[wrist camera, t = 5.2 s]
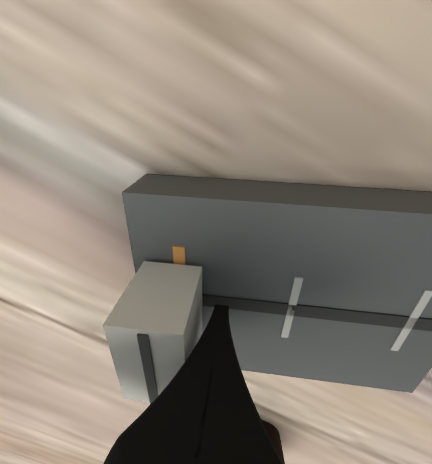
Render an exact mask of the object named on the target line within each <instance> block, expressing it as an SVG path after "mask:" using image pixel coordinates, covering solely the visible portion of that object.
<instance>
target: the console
mask: <svg viewBox="0 0 432 464" xmlns="http://www.w3.org/2000/svg"><path fill="white" fill-rule="evenodd" d="M122 196H123V202H124V208H125V213H126V219H127V225H128V231H129V237H130V243H131V249H132V255H133V261H134V267H135V273H137V271H138V269H139V268H140V266H141V265H142V263H143V262H144V261H148V262H159V263H169V264H180V265H190V266H200V267H202V334H203V332H204V330H205V328H206V326H207V324H208V322H209V320H210V317H211V315H212V312H213V310H214V306H215V304H217V305H226V306H229V323H230V329H231V335H232V339H233V343H234V348H235V351H236V355H237V358H238V362H239V365H240V368H241V370H245V371H252V372H260V373H268V374H275V375H283V376H290V377H298V378H305V379H313V380H320V381H328V382H335V383H343V384H350V385H358V386H365V387H373V388H380V389H388V390H395V391H403V392H410V393H413V391H414V390H415V389H416V387H417V386H418V385H419V383H420V382H421V381H422V379H423V378H424V377H425V375H426V374H427V373H428V372H429V370H430V369H431V368H432V192H425V191H409V190H393V189H377V188H361V187H345V186H330V185H314V184H298V183H282V182H266V181H250V180H234V179H218V178H202V177H186V176H170V175H155V174H146V175H144V176H143V177H142V178H140V179H139V180H138V181H136V182H135V183H134V184H132V185H131V186H130V187H128V188H127V189H126V190H125V191H123V192H122Z"/></svg>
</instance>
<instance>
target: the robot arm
mask: <svg viewBox="0 0 432 464" xmlns="http://www.w3.org/2000/svg"><path fill="white" fill-rule="evenodd" d="M104 464H283V462H282V460H281V458H280V456H279V455H278V453H277V451H276V449H275V447H274V445H273V443H272V441H271V439H270V437H269V435H268V433H267V431H266V429H265V427H264V425H263V423H262V421H261V419H260V416H259V414H258V412H257V409H256V407H255V405H254V403H253V400H252V398H251V396H250V393H249V390H248V388H247V385H246V383H245V380H244V377H243V374H242V371H241V368H240V365H239V362H238V358H237V355H236V351H235V348H234V343H233V339H232V335H231V329H230V323H229V306H226V305H217V304H215V306H214V310H213V312H212V315H211V317H210V320H209V322H208V324H207V326H206V328H205V330H204V332H203V334H202V335H201V337H200V339H199V341H198V342H197V344H196V346H195V347H194V349H193V350H192V352H191V354H190V355H189V357H188V358H187V360H186V361H185V363H184V364H183V365H182V367H181V368H180V370H179V371H178V372H177V374H176V375H175V376H174V377H173V379H172V380H171V381H170V382H169V384H168V385H167V386H166V387H165V389H164V390H163V391H162V392H161V393H160V395H159V396H158V397H157V398H156V399H155V400H154V401H153V402H152V403H151V404H150V406H149V407H148V408H147V409H146V410H145V411H144V412H143V413H142V414H141V415H140V416H139V417H138V418H137V419H136V420H135V421H134V422H133V423H132V424H131V425H130V426H129V427H128V428H127V429H126V430H125V431H124V432H123V433H122V434H121V435H120V436H119V437H118V439H117V440H116V442H115V444H114V445H113V447H112V449H111V450H110V452H109V454H108V456H107V458H106V460H105V462H104Z"/></svg>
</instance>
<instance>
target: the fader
mask: <svg viewBox="0 0 432 464" xmlns="http://www.w3.org/2000/svg"><path fill="white" fill-rule="evenodd" d="M103 328H104V331H105V335H106V338H107V342H108V345H109V348H110V352H111V355H112V359H113V362H114V366H115V369H116V373H117V376H118V380H119V383H120V386H121V390H122V393H123V397H124V399H128V400H134V401H141V402H148V403H152V402H153V401H154V400H155V399H156V398H157V397H158V396H159V395H160V393H161V392H162V391H163V390H164V389H165V387H166V386H167V385H168V384H169V382H170V381H171V380H172V379H173V377H174V376H175V375H176V374H177V372H178V371H179V370H180V368H181V367H182V365H183V364H184V363H185V361H186V360H187V358H188V357H189V355H190V354H191V352H192V350H193V349H194V347H195V346H196V344H197V342H198V341H199V339H200V337H201V335H202V267H200V266H190V265H180V264H169V263H159V262H148V261H144V262H143V263H142V265H141V266H140V268H139V269H138V271H137V273H136V274H135V276H134V277H133V279H132V280H131V282H130V283H129V285H128V287H127V288H126V290H125V291H124V293H123V294H122V296H121V298H120V299H119V301H118V302H117V304H116V305H115V307H114V308H113V310H112V312H111V313H110V315H109V316H108V318H107V319H106V321H105V322H104V324H103Z"/></svg>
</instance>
